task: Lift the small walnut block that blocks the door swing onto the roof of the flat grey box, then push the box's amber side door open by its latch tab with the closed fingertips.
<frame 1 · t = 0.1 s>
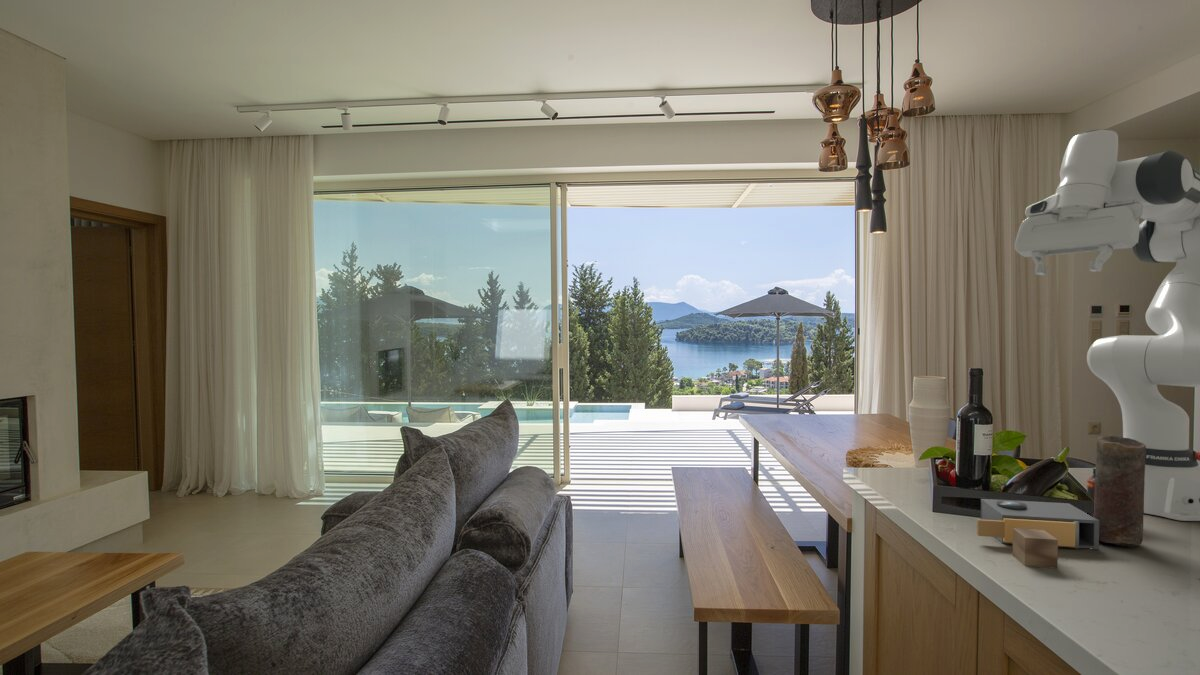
hand: (1066, 272, 121), 52 cm above the kitchen island, tool tilted 20°, fingers open, 8 cm apart
candle: (1117, 544, 118), on the kitchen island
walnut block: (1034, 561, 110), on the kitchen island
side door: (1027, 531, 117), point 3 cm above the kitchen island, hinge at 0.0°
grey box: (1036, 536, 122), on the kitchen island
supplement bottle: (1104, 522, 130), on the kitchen island
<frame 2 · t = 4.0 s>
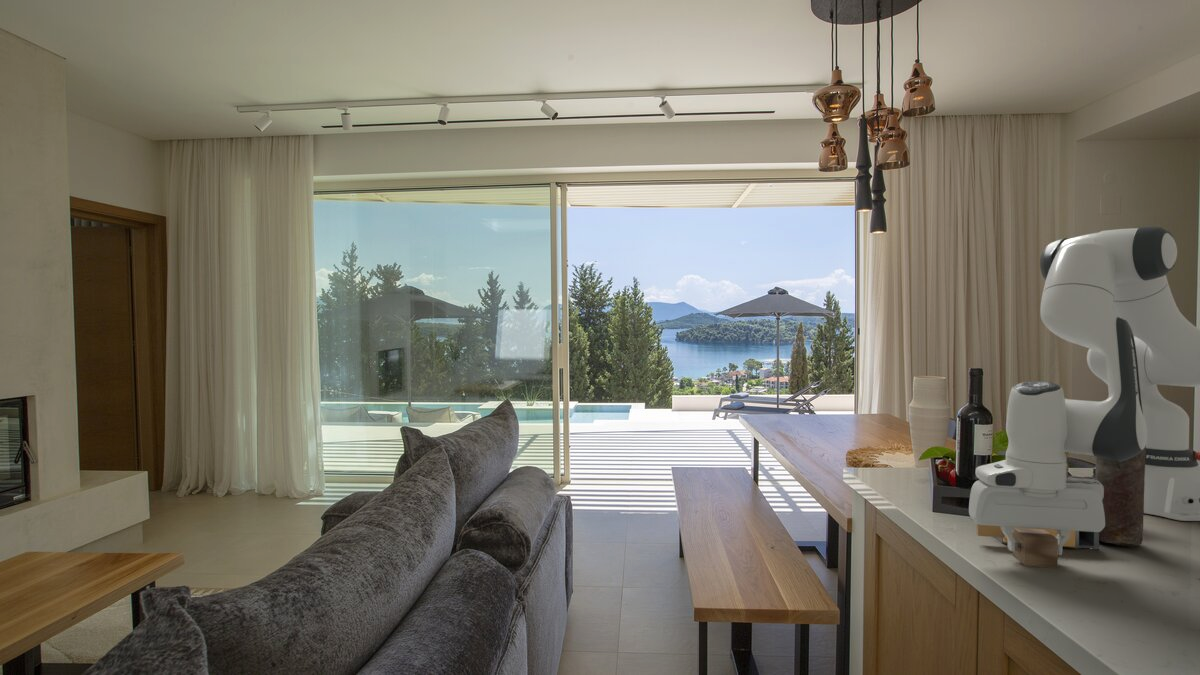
hand: (1034, 551, 110), 2 cm above the kitchen island, tool pointing down, fingers closed on walnut block, 5 cm apart
walnut block: (1034, 561, 110), on the kitchen island, touching gripper
everything else where it was.
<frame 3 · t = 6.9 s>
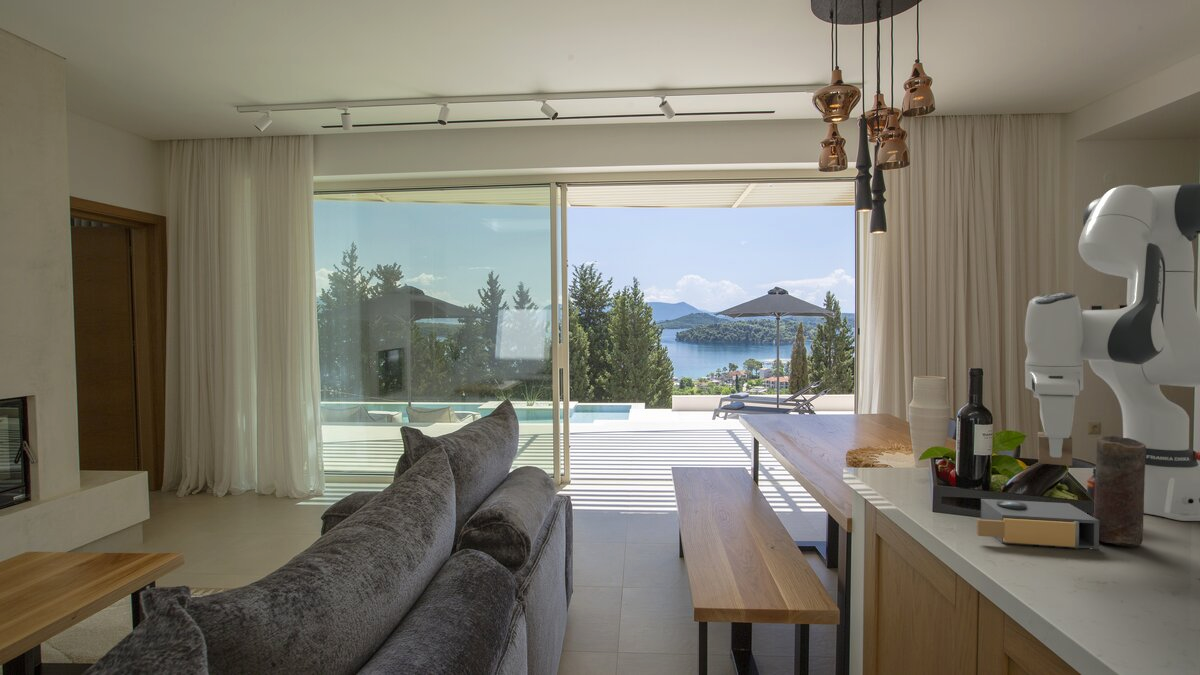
hand: (1054, 452, 117), 18 cm above the kitchen island, tool pointing down, fingers closed on walnut block, 5 cm apart
walnut block: (1054, 461, 117), point 16 cm above the kitchen island, touching gripper
everything else where it was.
when the fingers open (8 cm above the kitchen island, at t = 9.7 s): walnut block stays where it is, resting on grey box.
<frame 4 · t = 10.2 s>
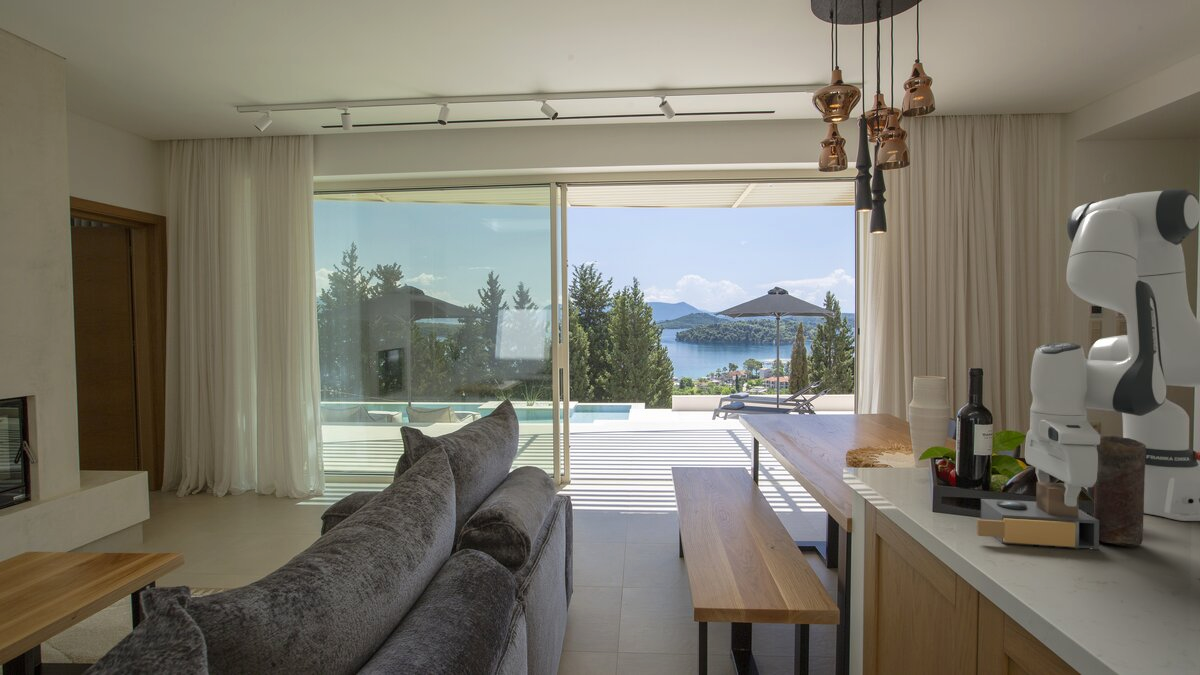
hand: (1056, 498, 120), 8 cm above the kitchen island, tool pointing down, fingers open, 8 cm apart
walnut block: (1056, 511, 120), point 5 cm above the kitchen island, touching grey box
everything else where it was.
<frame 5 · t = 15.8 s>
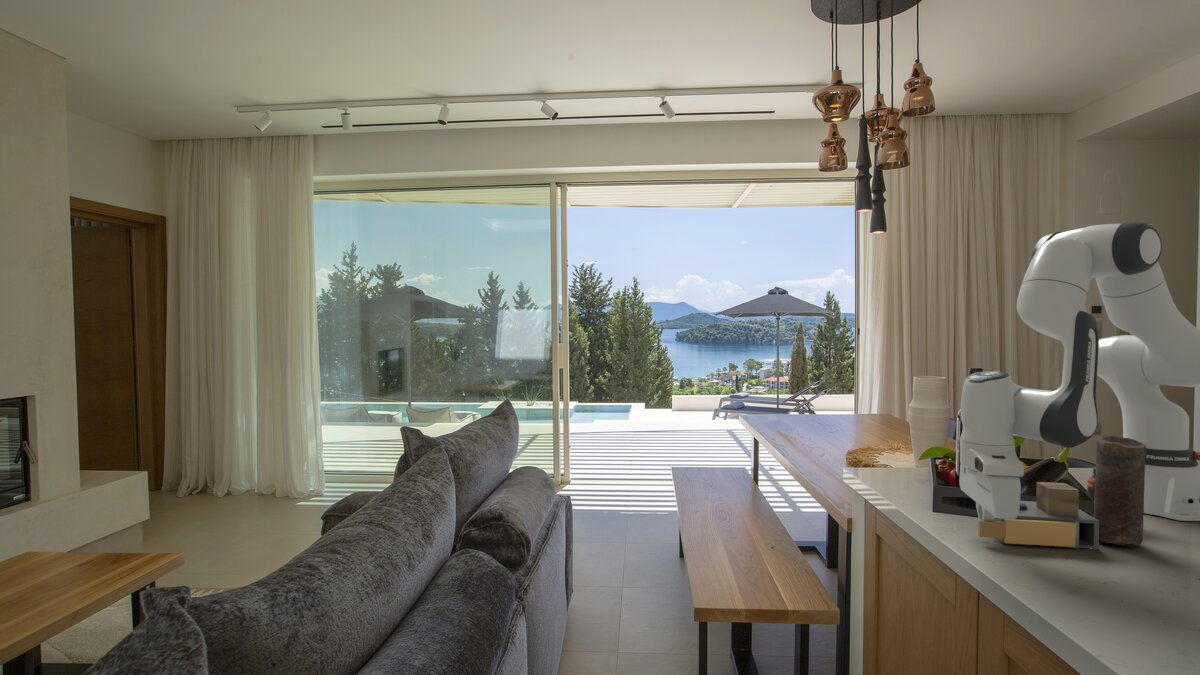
hand: (986, 527, 119), 3 cm above the kitchen island, tool pointing down, fingers closed
side door: (1028, 532, 116), point 3 cm above the kitchen island, hinge at 2.5°, touching gripper
everything else where it was.
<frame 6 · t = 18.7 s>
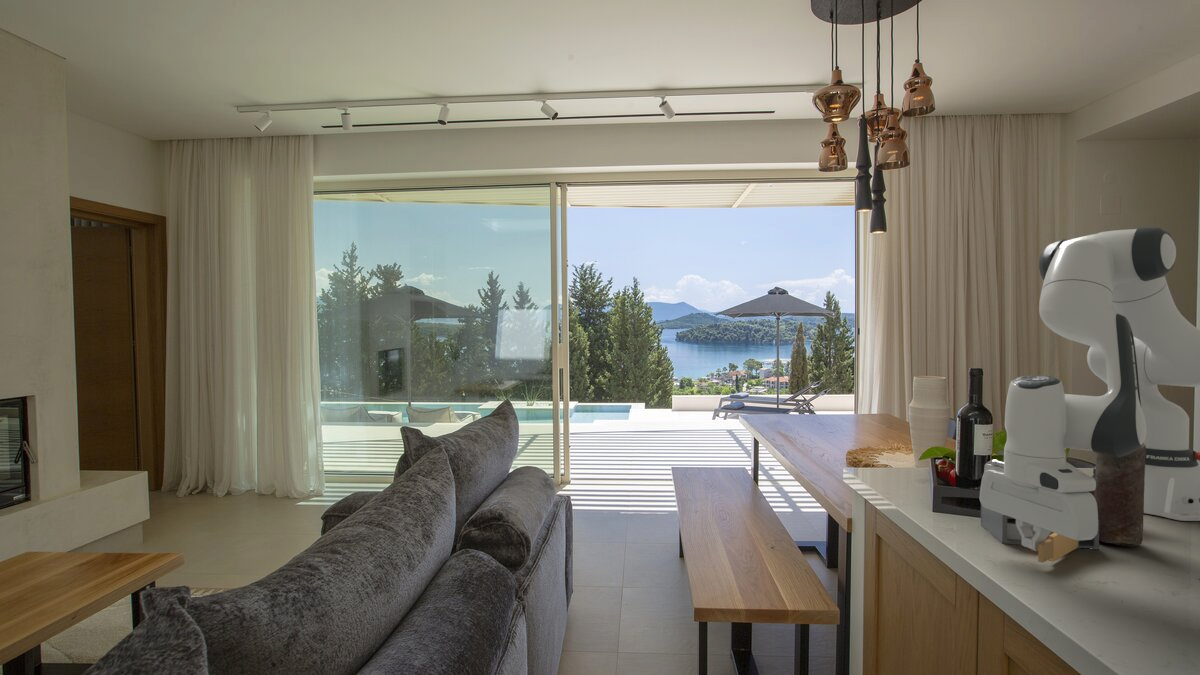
hand: (1032, 548, 108), 3 cm above the kitchen island, tool pointing down, fingers closed
side door: (1059, 543, 110), point 3 cm above the kitchen island, hinge at 48.6°, touching gripper
everything else where it was.
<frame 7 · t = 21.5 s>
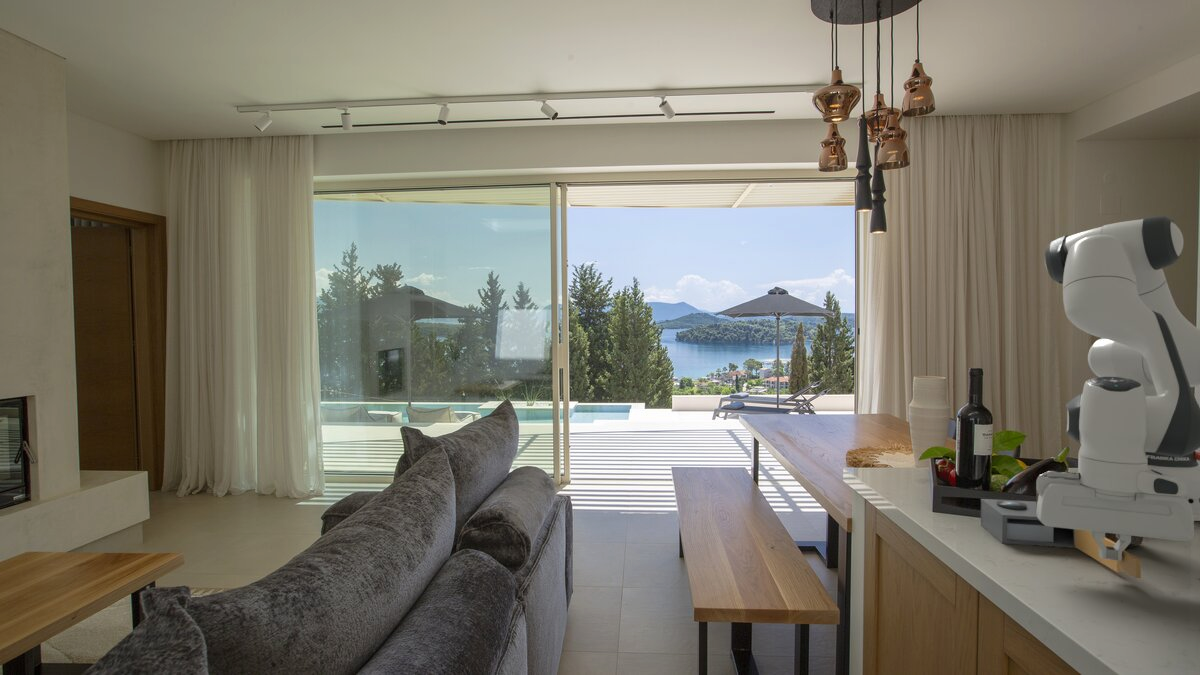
hand: (1110, 558, 103), 3 cm above the kitchen island, tool pointing down, fingers closed
side door: (1104, 550, 107), point 3 cm above the kitchen island, hinge at 93.8°, touching gripper
everything else where it was.
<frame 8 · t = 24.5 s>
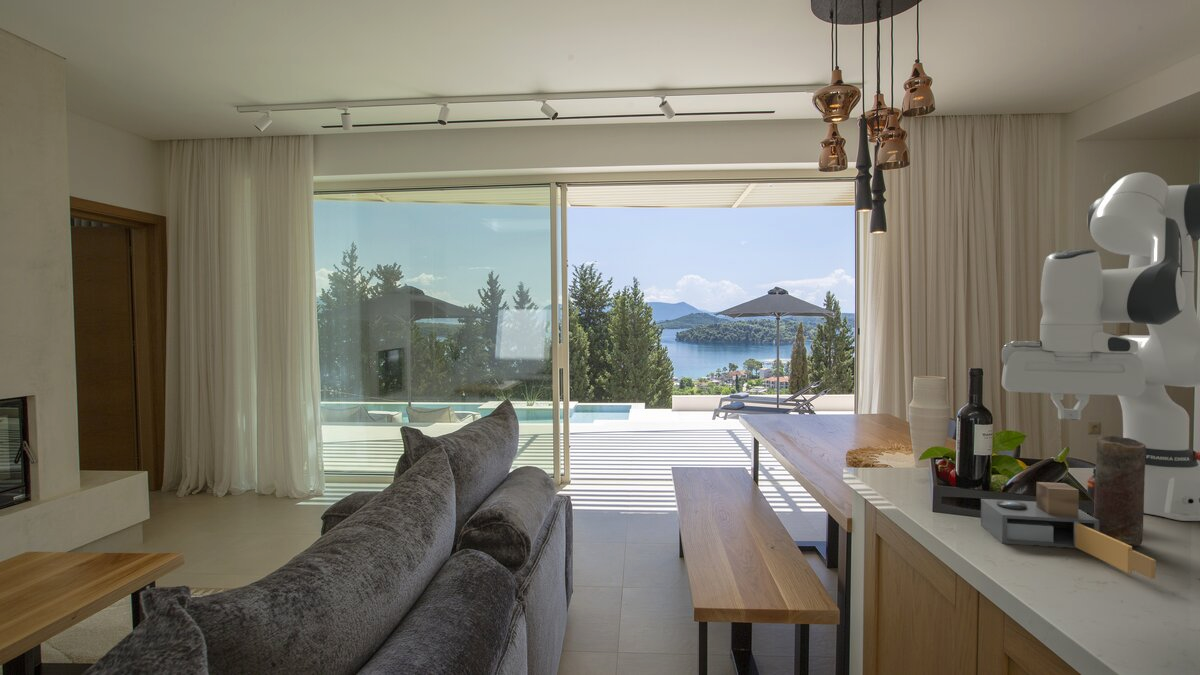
hand: (1069, 419, 109), 25 cm above the kitchen island, tool pointing down, fingers closed
side door: (1110, 550, 107), point 3 cm above the kitchen island, hinge at 101.5°
everything else where it was.
at the end: side door at +102° (first picture: +0°); walnut block inside the target area (3.3 cm from its centre), point 5.5 cm above the kitchen island; the gripper is holding nothing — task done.
